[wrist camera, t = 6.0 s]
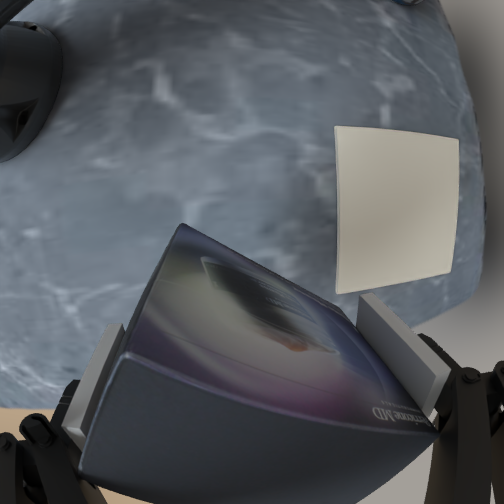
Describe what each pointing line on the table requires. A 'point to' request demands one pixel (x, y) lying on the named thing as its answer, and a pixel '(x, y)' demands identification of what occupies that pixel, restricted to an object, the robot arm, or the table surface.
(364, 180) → the mat
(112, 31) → the table surface
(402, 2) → the soda can
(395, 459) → the small box
